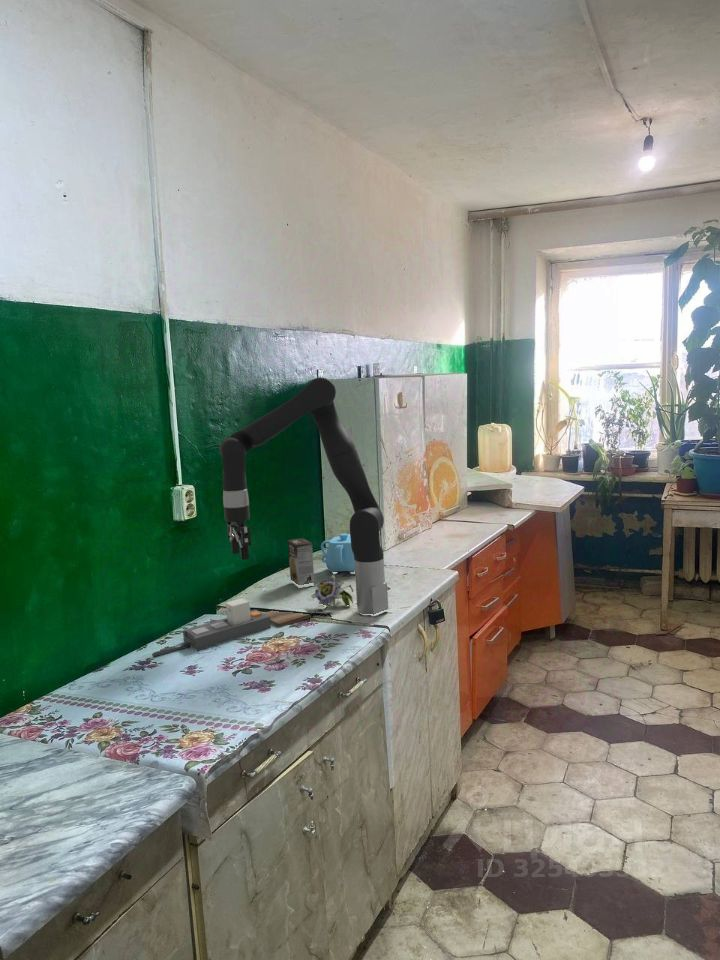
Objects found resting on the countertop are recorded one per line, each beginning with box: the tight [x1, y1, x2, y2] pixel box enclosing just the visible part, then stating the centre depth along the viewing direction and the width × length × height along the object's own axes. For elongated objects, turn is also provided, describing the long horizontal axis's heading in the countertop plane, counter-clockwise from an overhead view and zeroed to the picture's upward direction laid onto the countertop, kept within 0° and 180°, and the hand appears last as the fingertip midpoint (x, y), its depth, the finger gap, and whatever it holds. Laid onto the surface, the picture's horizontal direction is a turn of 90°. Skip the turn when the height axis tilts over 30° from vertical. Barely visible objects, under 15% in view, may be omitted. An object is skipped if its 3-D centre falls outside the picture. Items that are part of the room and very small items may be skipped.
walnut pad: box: [263, 610, 310, 628], centre depth 215 cm, size 12×12×1 cm
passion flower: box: [310, 574, 354, 608], centre depth 223 cm, size 11×11×12 cm
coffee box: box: [287, 537, 315, 585], centre depth 247 cm, size 9×6×16 cm
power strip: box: [151, 609, 272, 657], centre depth 200 cm, size 9×35×4 cm, turn 127°
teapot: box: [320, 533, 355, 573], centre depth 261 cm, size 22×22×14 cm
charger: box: [220, 597, 251, 626], centre depth 204 cm, size 4×8×7 cm, turn 127°
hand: (240, 556), depth 208 cm, fingers open, 8 cm apart
